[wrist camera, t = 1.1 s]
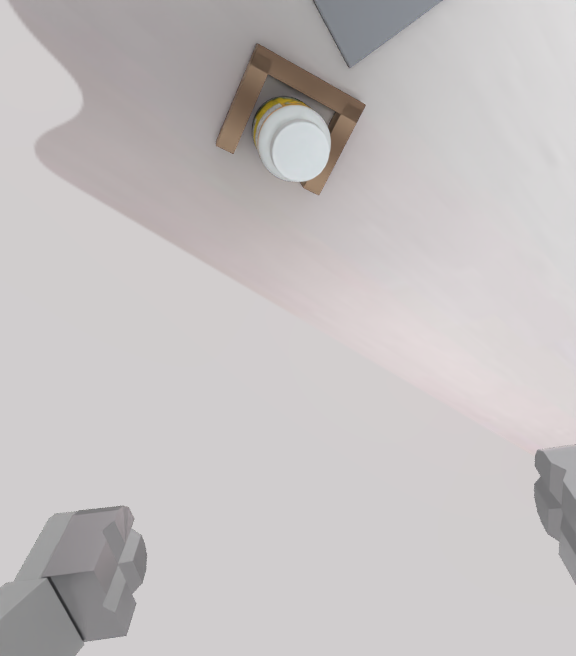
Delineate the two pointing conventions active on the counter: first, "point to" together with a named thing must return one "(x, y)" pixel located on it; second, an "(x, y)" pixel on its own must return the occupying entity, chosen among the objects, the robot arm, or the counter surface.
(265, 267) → the counter surface
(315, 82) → the slot holder
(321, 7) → the slate mat
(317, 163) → the supplement bottle
